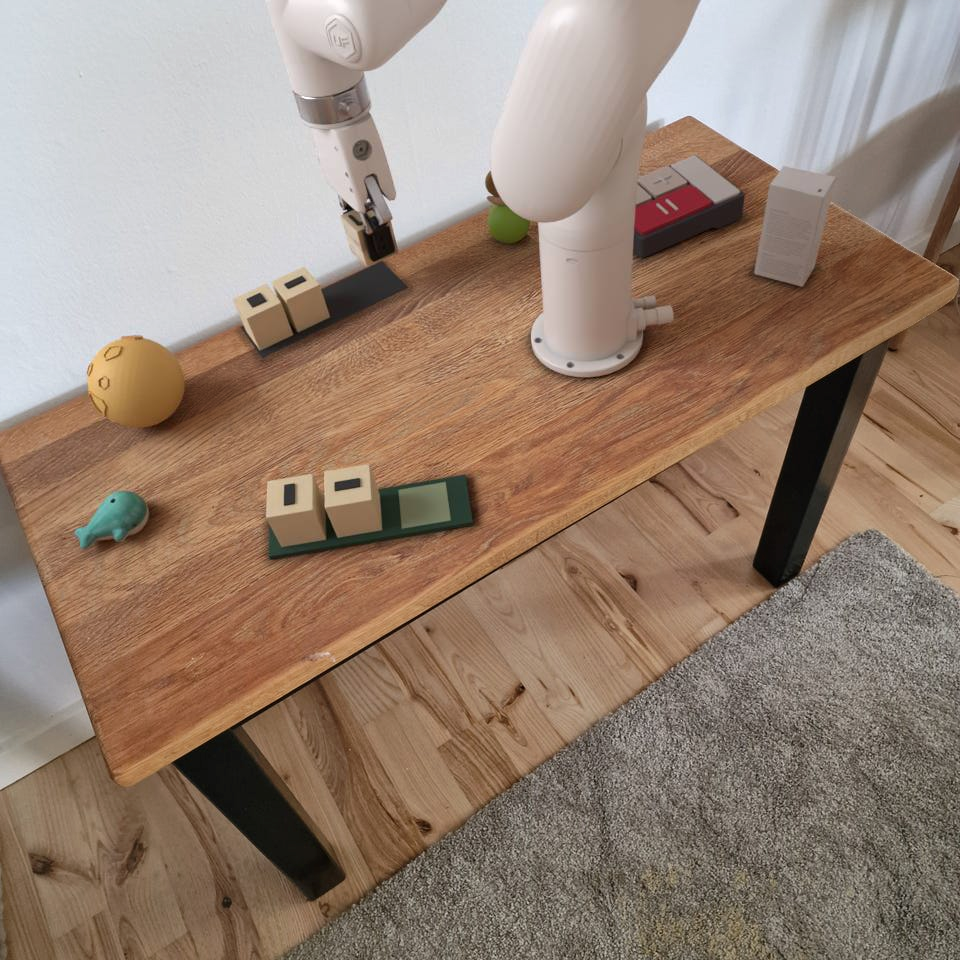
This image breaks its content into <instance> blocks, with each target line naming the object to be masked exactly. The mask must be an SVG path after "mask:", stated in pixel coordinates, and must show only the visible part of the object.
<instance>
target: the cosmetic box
mask: <svg viewBox="0 0 960 960" xmlns="http://www.w3.org/2000/svg"><path fill="white" fill-rule="evenodd" d="M836 181H837V176H834V175H829V174H823V173H818V172H813V171H809V170H804V169H800V168H795V167H790V166H787V165H786V166H785V165H783V166H782V167H781V168H780V170H779V171H778V172H777V174H776V175H775V177H774V178H773V179H772V181H771V182H770V184H769V186H768V192H767V199H766V204H765V209H764V216H763V220H762V221H763V222H762V225H761V226H762V227H761V230H760V231H761V232H760V236H759V237H760V238H759V243H758V249H757V253H756V260H755V265H754V270H753V274H754V275H755V276H760V277H763V278H767V279H771V280H775V281H778V282H783V283H786V284H790V285H793V286H797V287H801V288H802V287H804V286H805V284H806V282H807V281H808V279H809V277H810V275H811V274H812V272H813V271H814V269H815V266H816V264H817V259H818V254H819V251H820V247H821V243H822V238H823V235H824V230H825V227H826V226H825V225H826V223H827V218H828V214H829V210H830V206H831V201H832V198H833V193H834V189H835V186H836Z"/></svg>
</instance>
